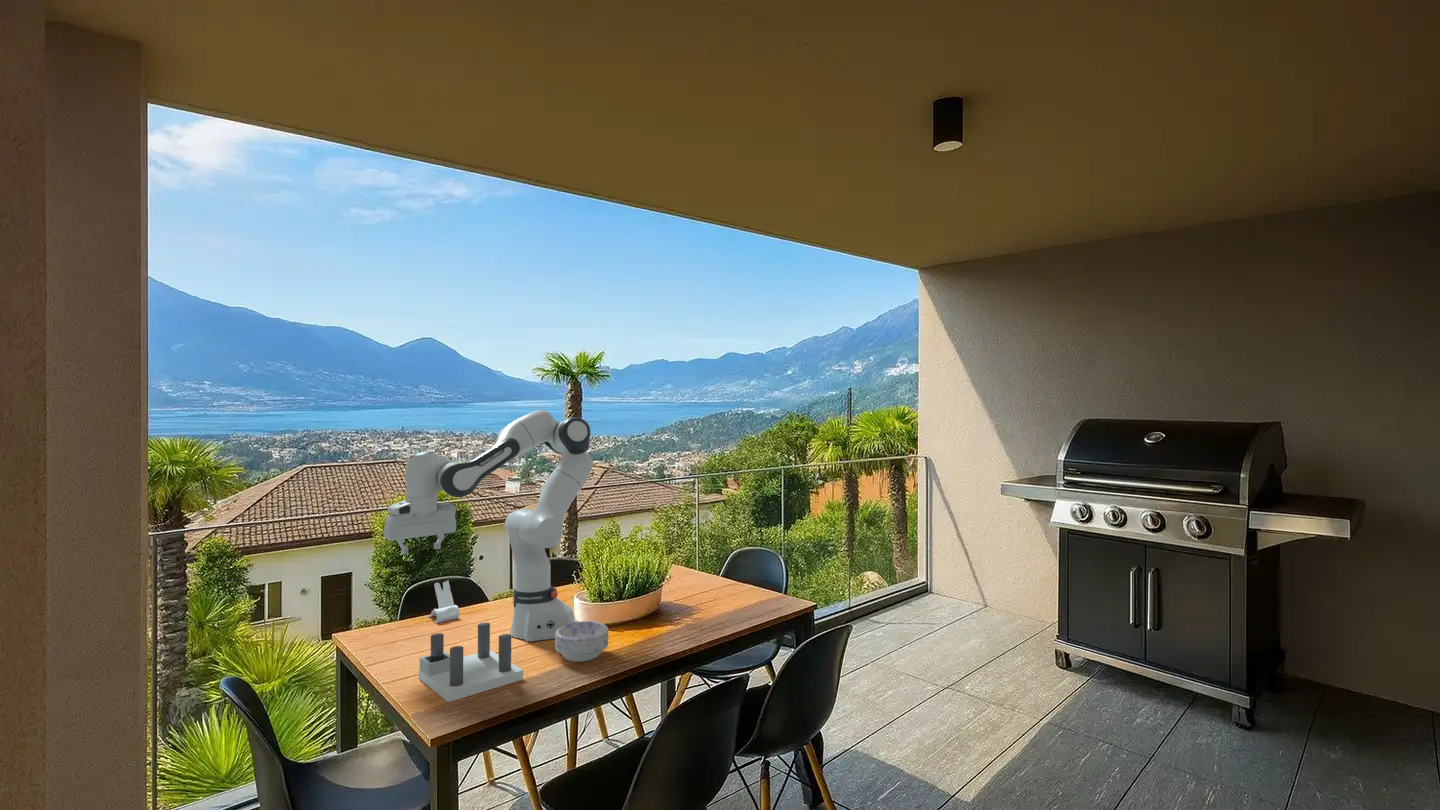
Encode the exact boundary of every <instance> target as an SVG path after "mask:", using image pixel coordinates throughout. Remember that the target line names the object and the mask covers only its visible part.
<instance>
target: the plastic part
mask: <svg viewBox="0 0 1440 810" xmlns="http://www.w3.org/2000/svg"><path fill="white" fill-rule="evenodd" d="M449 582H450V581H449V580H446V581H443V582H442V587H443V588H442V587H441V583H440V582H435V583H434V584H433V585H434V590H435V596H436V600H437V604H438V608H433V610H431V613H430V615H428V616H426V618H428V619H429V618H432V617H436V620H434V621H433V622H434V623H435V624H439V622H440V623H443V621H444V622H448V621H451V620H452V619H453V620H456V618H457V619H459V617H460V608H459V606H458V605H456V604H455V603H454V599H453V594H452V591H451V586H450V583H449Z"/></svg>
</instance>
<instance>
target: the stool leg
mask: <svg viewBox="0 0 1440 810" xmlns="http://www.w3.org/2000/svg"><path fill="white" fill-rule="evenodd" d="M444 636H445V634H444V633H441V632H440V633H433V634H431V635H430V655H431V663H433V662H437V661H440V660H444V649H445V648H444V647H445V646H444V645H445V643H444V642H445V641H444Z"/></svg>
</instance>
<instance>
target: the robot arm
mask: <svg viewBox="0 0 1440 810" xmlns="http://www.w3.org/2000/svg"><path fill="white" fill-rule="evenodd" d="M590 439H591V428H590V425H589V424H588V422H587V421H586V420H584V419H583V418H581V417H575V416H571V417H568V418H566V419H563V420H562V421H559V420H558V421H557V420H556V419H555V418H554V417H553V415H552V414H551V413H550V412H549V411H548V410H546V409H545V410H544V409H538V410H535V411H532V412H529V413H527V414H525V415H522V416H520V417H519V418H517V419H515V420H513V421H511V422H510V423H508V424H506V425H505V426H504V427H502V429H501V430H499V431H498V433H497V437H496V442H495V444H494V445H493V446H492V447H491V448H489V449H488V450H486V451H484V452H483V453H482V454H480V455H478V456H477V457H475V458H474V459H471V460H469V461H466V462H459V461H455V460H451V459H448V458H446V457H443V456H441V455H439V454H437V453H436V452H435V451H433V450H428V451H420V452H416V453H413V454H411V455H410V456H409V457H408V458H407V460H406V464H405V465H406V466H405V485H406V492H405V495H404V496H405V497H404V498H405V499H403V500H401V501H398V502H397V503H394V504H391V505H389V506H388V508H387V511H388V513H389V514H388V515H387V516H386V518H385V521H384V528H383V531H384V532H383V537H384V538H385V539H386V540H388V541H396V542H397V544H398V546H399V547H400V550H401V551H400V553H401V554H402V555H405V554H409V547H408V546H405V545H404V543H406V542H405V541H406V539H413V538H420V537H428V536H436V537H437V540H436V542H433V549H434V550H441V544H442V543H443V541H444V539H445V534H451V533H455V532H456V530H457V520H456V513H457V511H456V510H457V507H456V505H455V504H453V503H451V502H446V503H445V502H443V503H438V493H439V492H445V493H446V494H447V495H449V496H450V497H453V498H464V497H467V496H468V495H470V494H472V492H473V493H474V491H475V490H476V488H477V487H478V485H479V484H480V483H481V482H482V481H483V480H484V479H485V478H486V477H487V476H489V475H490V474H492V473H494V472H495V471H496V470H497V469H499V468H501V467H502V466H503V465H505V464H507V463H508V462H509V461H512V460H513V459H515V458H518V457H520V456H522V455H525V454H526V453H528V452H530V451H531V450H532V449H534V448H536V447H538V446H539V445H541V444H543V443H544V444H545V445H546V446H548V448H549V449H550V450H552V451H553V452H554V453H556V454H557V455H558V454H559V455H561V456H560V460H559V463H558V464H557V465H556V467H555V468H554V469H553V471H552V472H551V473H550V475H549V476H548V477H547V479H546V481H544V483H543V484H542V486H541V488H540V489H539V494H540V495H539V499H538V501H537V504H536V506H535V507H534V509H529V508H521V509H517V510H513V511H512V512H511V513H508V516H507V517H506V518H505V521H504V530H505V532H506V534H507V537H508V539H509V542H510V547H511V548H510V549H511V551H512V557H513V561H514V589H513V592H512V604H513V607H514V609H513V617H512V622H511V626H510V631H509V634H510V635H511V637H512V636H513V638H515V639H519V638H520V640H523V639H524V641H525V642H528V641H530V642H538V641H545V640H552V639H554V640H555V632H556V630H557V629H558V628H560V627H561V626H563V625H566V624H569V623H574V622H578V621H579V620H577V619H575V614H574V612H573V608H571V606H569V604H567V603H565V602H564V601H562V600H561V599H559V598H558V591H557V590H558V589H557V588H556V586H552V585H551V561H550V559H549V558H548V555H547V552H546V549H550V548H553V547H555V546H556V545H558V544H559V543H560V541H561V540H562V537H563V534H564V528H563V523H564V520H565V517H566V515H567V512H568V509H569V508H570V506H571V504H572V503H573V502H574V500H575V499H576V496H577V495H578V494H579V493H580V491H581V490H582V488H583V486H584V485H585V483H586V481H587V480H588V478H589V476H590V474H591V473H592V469H593V467H594V461H593V458H592V457H591V455H589V454H588V453H587V451H588V450H589V448H590Z"/></svg>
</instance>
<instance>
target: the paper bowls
mask: <svg viewBox="0 0 1440 810" xmlns="http://www.w3.org/2000/svg"><path fill="white" fill-rule="evenodd" d="M554 640H555V642H554V643H555V644H554V646H555V651H556V652H557V653H559V654H562V656H563V658H564V659H566V660H567V661H569V662H573V663H574V662H575V663H584V662H588V661H592V660H595V659H597V658H598V657H599V656H600V655H601V652H602V651H603V650H605V649H607V647H608V646H609V628H608V626H607V625H606V624H604V623H602V622H597V621H592V620H591V621H579V622H574V623H569V624H566V625H563V626H561V627H560V628H558V629H557V630H556V632H555V638H554ZM594 658H595V659H594Z"/></svg>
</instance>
